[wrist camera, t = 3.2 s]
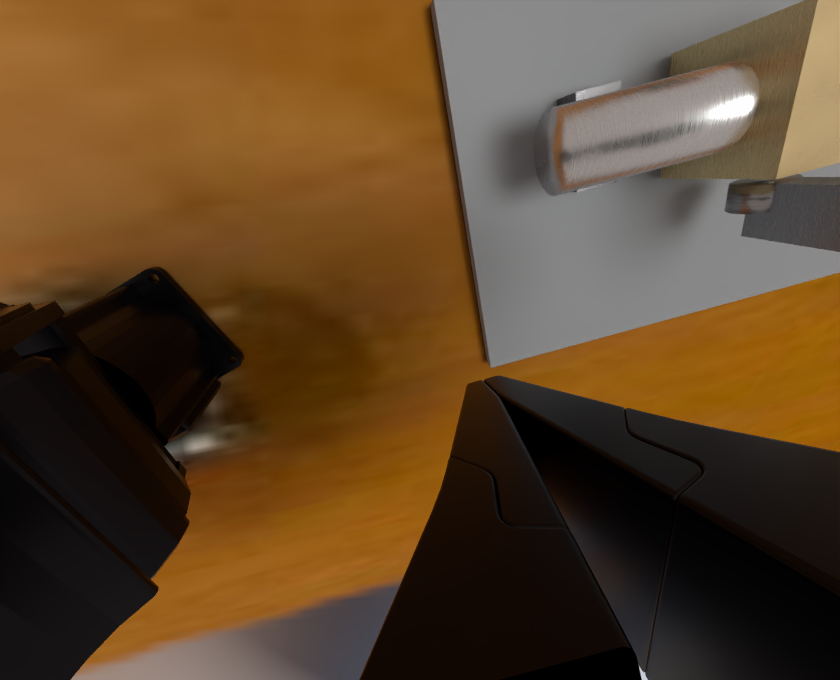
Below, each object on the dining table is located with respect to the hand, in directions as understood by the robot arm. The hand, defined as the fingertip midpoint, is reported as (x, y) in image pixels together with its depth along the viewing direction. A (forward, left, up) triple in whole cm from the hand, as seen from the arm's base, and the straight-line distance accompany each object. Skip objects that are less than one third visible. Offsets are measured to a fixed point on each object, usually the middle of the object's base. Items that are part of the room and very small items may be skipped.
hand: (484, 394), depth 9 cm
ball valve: (0, +17, -12) cm, 20 cm away
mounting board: (+2, +16, -12) cm, 20 cm away
